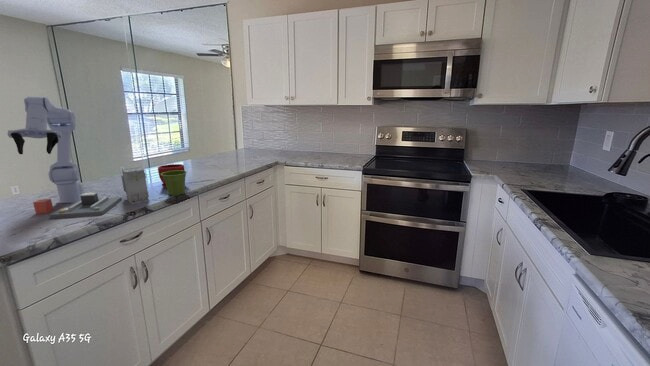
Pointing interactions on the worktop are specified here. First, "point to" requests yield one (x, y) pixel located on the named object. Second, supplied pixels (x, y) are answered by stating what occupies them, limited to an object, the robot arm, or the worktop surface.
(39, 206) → the red rectangular block
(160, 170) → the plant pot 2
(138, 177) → the circuit breaker
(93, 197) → the breaker handle
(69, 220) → the worktop surface
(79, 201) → the breaker panel
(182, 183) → the plant pot
